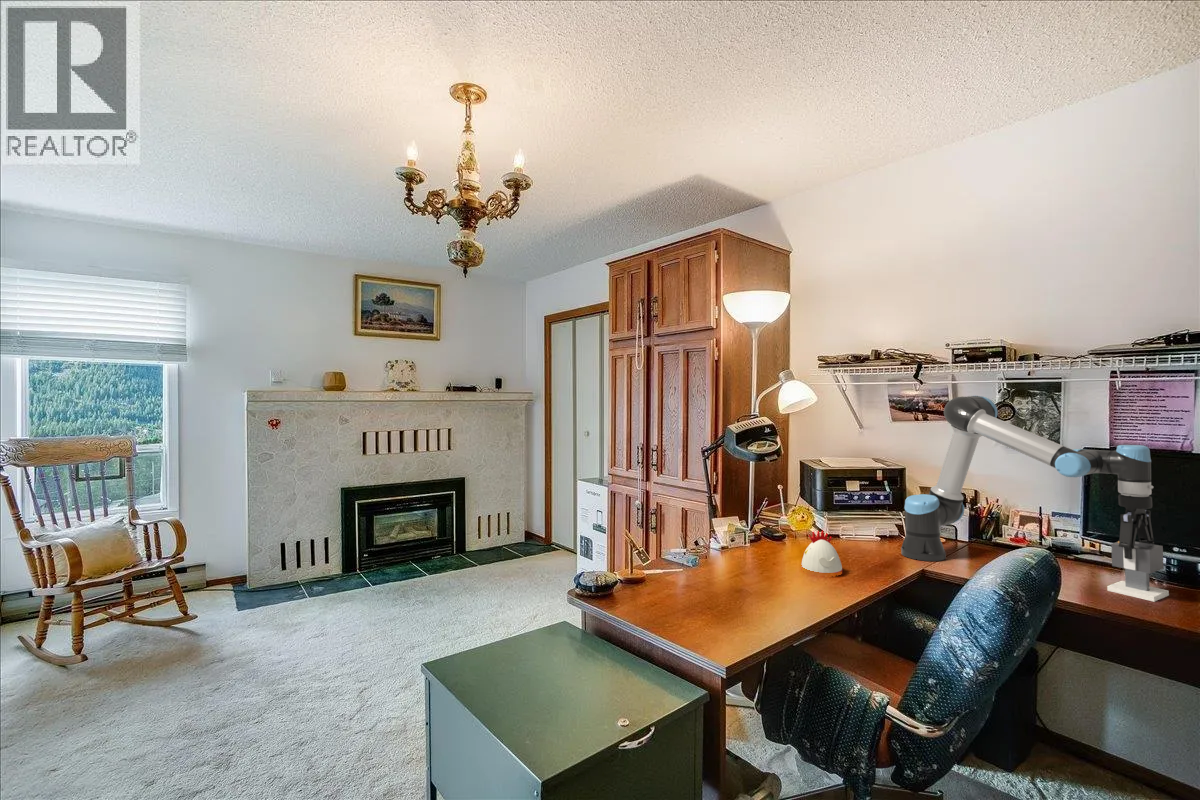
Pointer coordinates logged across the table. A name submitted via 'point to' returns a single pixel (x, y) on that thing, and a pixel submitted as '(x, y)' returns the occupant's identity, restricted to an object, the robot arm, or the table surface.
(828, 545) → the kitchen timer
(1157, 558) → the gray slotted block
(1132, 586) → the shaft stand
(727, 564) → the table surface
